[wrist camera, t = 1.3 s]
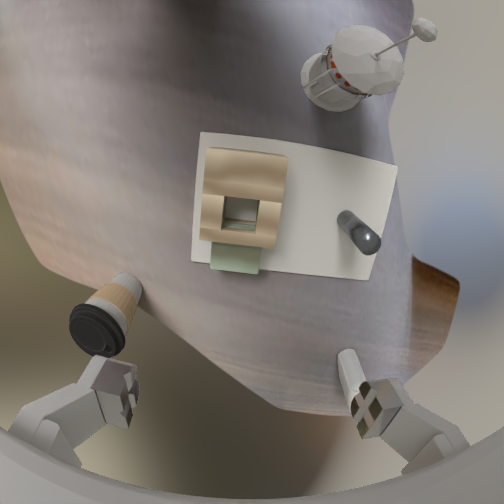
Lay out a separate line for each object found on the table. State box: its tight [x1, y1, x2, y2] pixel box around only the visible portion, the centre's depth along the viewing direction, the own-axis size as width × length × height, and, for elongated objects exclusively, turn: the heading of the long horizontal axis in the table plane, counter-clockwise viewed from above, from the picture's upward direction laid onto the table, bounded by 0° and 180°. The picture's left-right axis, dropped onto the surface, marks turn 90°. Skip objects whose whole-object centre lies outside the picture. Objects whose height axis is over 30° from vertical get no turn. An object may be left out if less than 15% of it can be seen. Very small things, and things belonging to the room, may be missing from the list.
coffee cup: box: [69, 273, 142, 358], centre depth 40 cm, size 10×9×15 cm
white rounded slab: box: [338, 349, 366, 413], centre depth 48 cm, size 10×4×12 cm, turn 16°
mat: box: [191, 132, 398, 281], centre depth 41 cm, size 20×30×1 cm, turn 83°
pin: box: [337, 210, 381, 255], centre depth 36 cm, size 3×3×10 cm
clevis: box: [199, 147, 289, 274], centre depth 38 cm, size 17×10×6 cm, turn 173°
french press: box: [301, 18, 437, 112], centre depth 22 cm, size 10×12×25 cm
